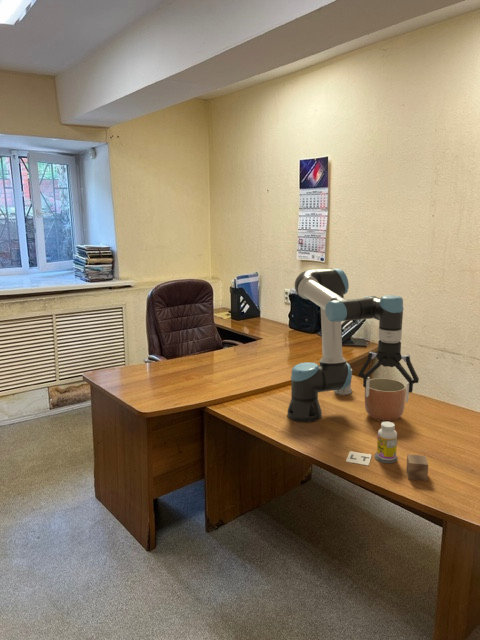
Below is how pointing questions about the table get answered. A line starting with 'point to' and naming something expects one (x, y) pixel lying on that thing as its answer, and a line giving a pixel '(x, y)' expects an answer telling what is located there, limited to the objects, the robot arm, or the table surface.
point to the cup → (344, 390)
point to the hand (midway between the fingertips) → (386, 398)
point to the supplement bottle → (387, 441)
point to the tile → (359, 458)
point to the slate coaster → (385, 460)
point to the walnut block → (417, 467)
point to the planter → (385, 399)
